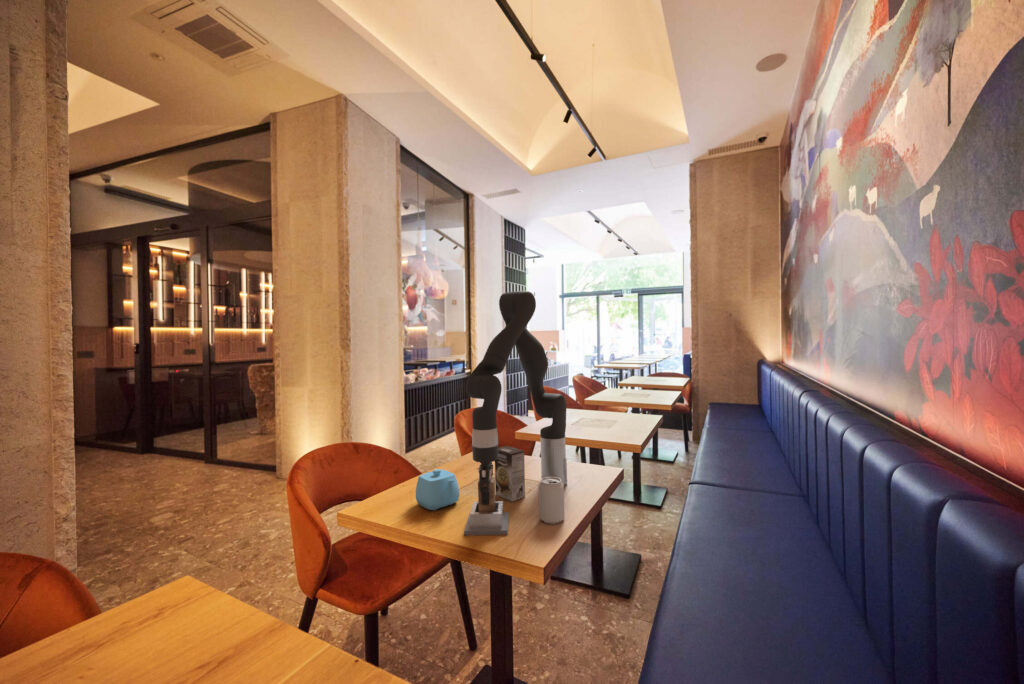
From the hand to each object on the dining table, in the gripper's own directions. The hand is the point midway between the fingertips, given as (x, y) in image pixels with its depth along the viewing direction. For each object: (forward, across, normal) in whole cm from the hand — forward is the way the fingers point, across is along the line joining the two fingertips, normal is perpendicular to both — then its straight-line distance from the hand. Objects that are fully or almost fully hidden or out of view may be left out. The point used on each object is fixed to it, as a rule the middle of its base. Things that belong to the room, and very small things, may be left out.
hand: (486, 498), depth 120 cm
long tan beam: (+7, 0, 0) cm, 7 cm away
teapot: (+8, +15, +17) cm, 24 cm away
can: (+8, +3, -19) cm, 21 cm away
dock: (+8, 0, 0) cm, 8 cm away
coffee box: (+8, +22, -6) cm, 24 cm away
